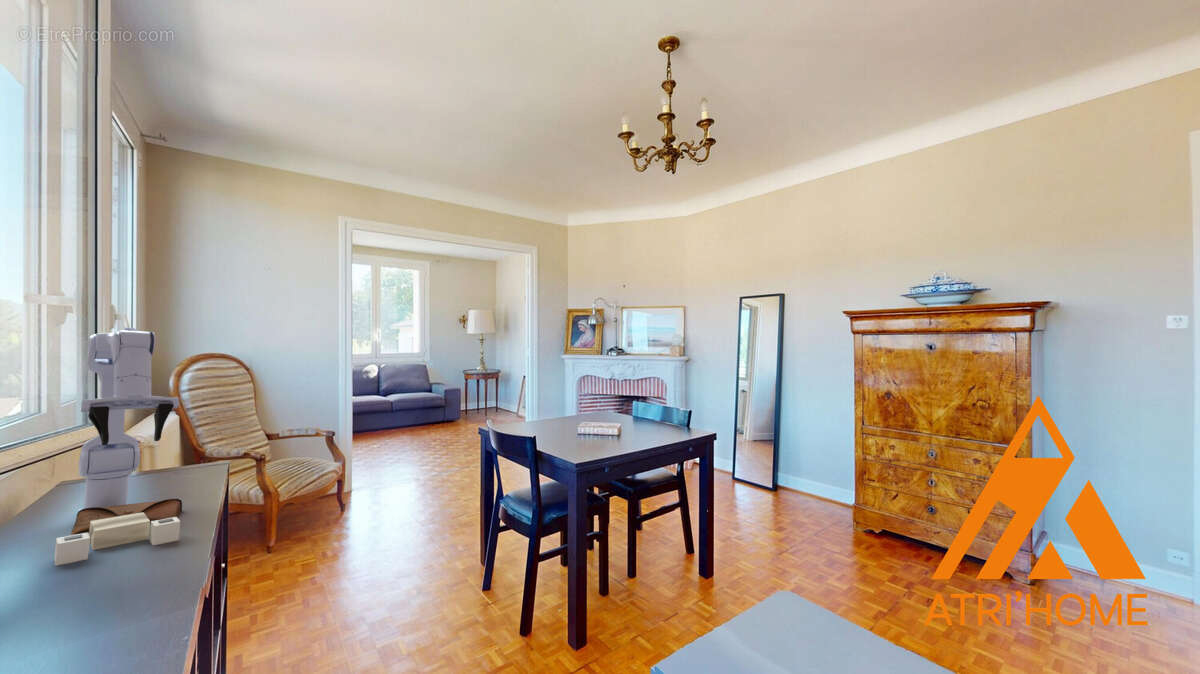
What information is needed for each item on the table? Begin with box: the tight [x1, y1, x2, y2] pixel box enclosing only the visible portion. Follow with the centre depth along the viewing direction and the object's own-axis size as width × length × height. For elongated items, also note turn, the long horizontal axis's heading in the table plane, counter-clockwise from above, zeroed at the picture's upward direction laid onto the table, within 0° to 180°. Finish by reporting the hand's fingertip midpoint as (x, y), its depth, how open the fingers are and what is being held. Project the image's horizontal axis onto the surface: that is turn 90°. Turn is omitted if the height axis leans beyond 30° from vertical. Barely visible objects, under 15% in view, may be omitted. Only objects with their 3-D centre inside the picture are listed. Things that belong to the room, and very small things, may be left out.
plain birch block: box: [88, 512, 151, 551], centre depth 97 cm, size 8×8×4 cm
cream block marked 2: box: [148, 517, 181, 546], centre depth 98 cm, size 4×4×4 cm
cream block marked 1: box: [53, 532, 90, 567], centre depth 88 cm, size 4×4×4 cm
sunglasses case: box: [69, 498, 183, 536], centre depth 107 cm, size 18×7×7 cm
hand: (132, 441), depth 95 cm, fingers open, 7 cm apart
